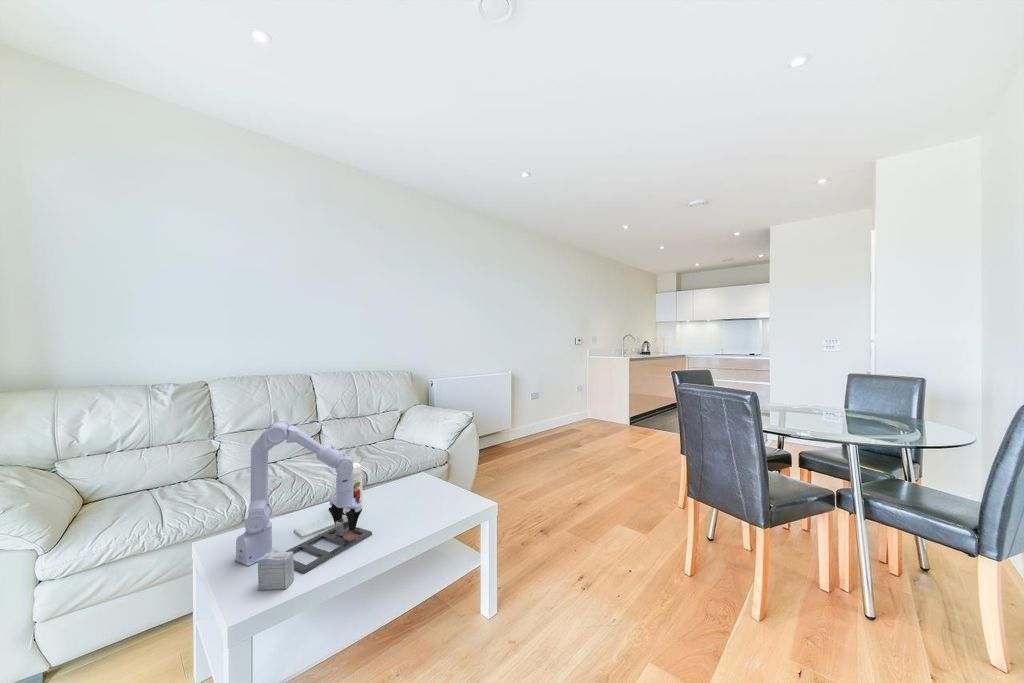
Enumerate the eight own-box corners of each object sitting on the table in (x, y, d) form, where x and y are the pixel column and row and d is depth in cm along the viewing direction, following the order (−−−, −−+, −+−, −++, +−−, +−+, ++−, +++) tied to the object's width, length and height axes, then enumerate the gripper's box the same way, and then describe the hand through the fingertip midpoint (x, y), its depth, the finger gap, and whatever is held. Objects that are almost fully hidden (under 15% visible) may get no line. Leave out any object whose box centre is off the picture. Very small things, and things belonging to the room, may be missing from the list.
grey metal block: (343, 540, 132) (343, 523, 132) (335, 537, 134) (335, 521, 134) (352, 535, 136) (352, 518, 136) (345, 532, 138) (345, 516, 138)
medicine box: (294, 580, 110) (294, 550, 110) (286, 590, 106) (285, 559, 106) (267, 581, 110) (267, 551, 110) (257, 591, 105) (257, 560, 105)
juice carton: (337, 510, 157) (336, 465, 158) (358, 504, 163) (357, 461, 163) (343, 516, 152) (342, 469, 152) (364, 510, 157) (363, 465, 158)
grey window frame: (304, 573, 113) (303, 570, 113) (273, 561, 120) (273, 557, 120) (372, 534, 136) (371, 531, 136) (342, 526, 143) (342, 522, 143)
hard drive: (327, 517, 149) (293, 528, 140) (336, 523, 144) (302, 535, 134) (327, 521, 149) (293, 533, 140) (336, 527, 144) (302, 540, 134)
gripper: (367, 489, 136) (368, 526, 136) (341, 483, 142) (341, 519, 142) (351, 496, 130) (351, 535, 129) (324, 490, 136) (324, 527, 136)
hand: (345, 527), depth 135 cm, fingers open, 7 cm apart
